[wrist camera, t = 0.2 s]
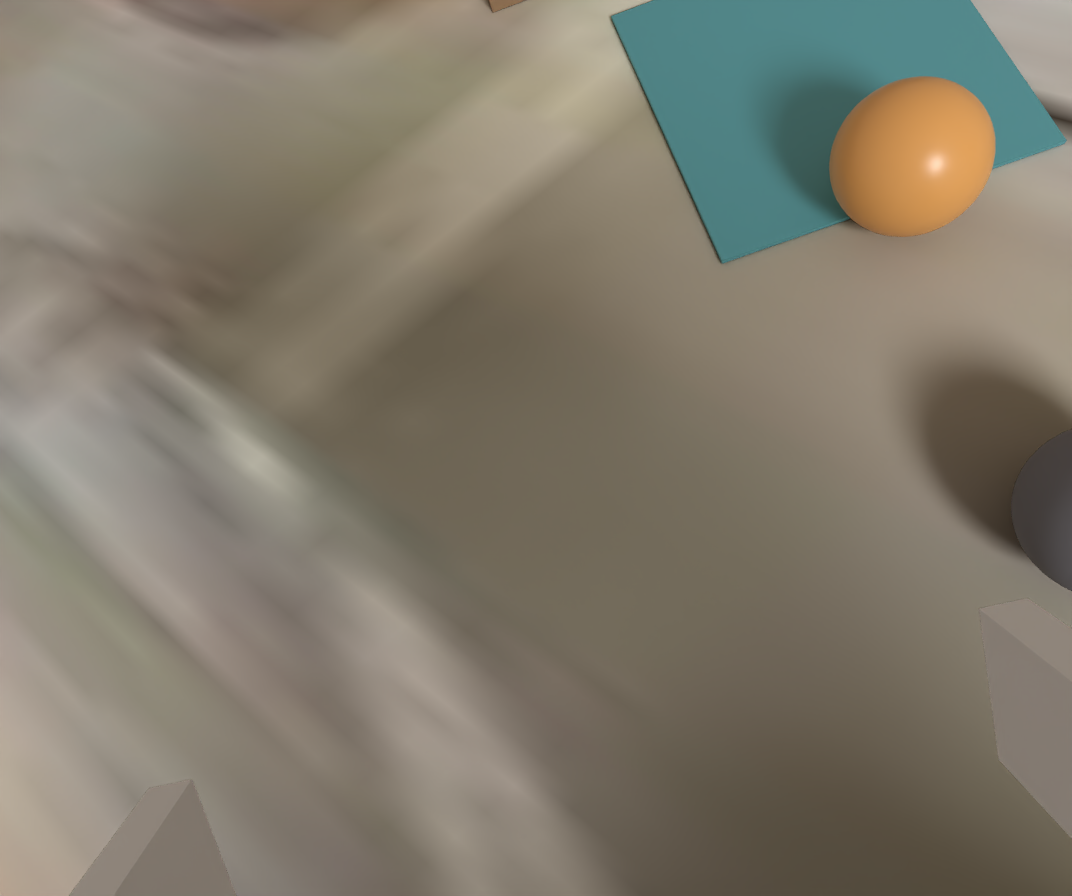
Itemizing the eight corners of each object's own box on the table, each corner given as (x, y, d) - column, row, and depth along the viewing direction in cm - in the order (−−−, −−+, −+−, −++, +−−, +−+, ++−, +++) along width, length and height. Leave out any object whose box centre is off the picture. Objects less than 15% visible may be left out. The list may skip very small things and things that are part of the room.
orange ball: (992, 236, 31) (1054, 138, 26) (853, 284, 31) (886, 197, 26) (926, 128, 33) (971, 18, 28) (796, 174, 33) (817, 74, 28)
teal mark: (1064, 143, 32) (1066, 140, 32) (721, 263, 33) (721, 260, 32) (904, -90, 37) (906, -94, 37) (611, 19, 38) (611, 16, 37)
